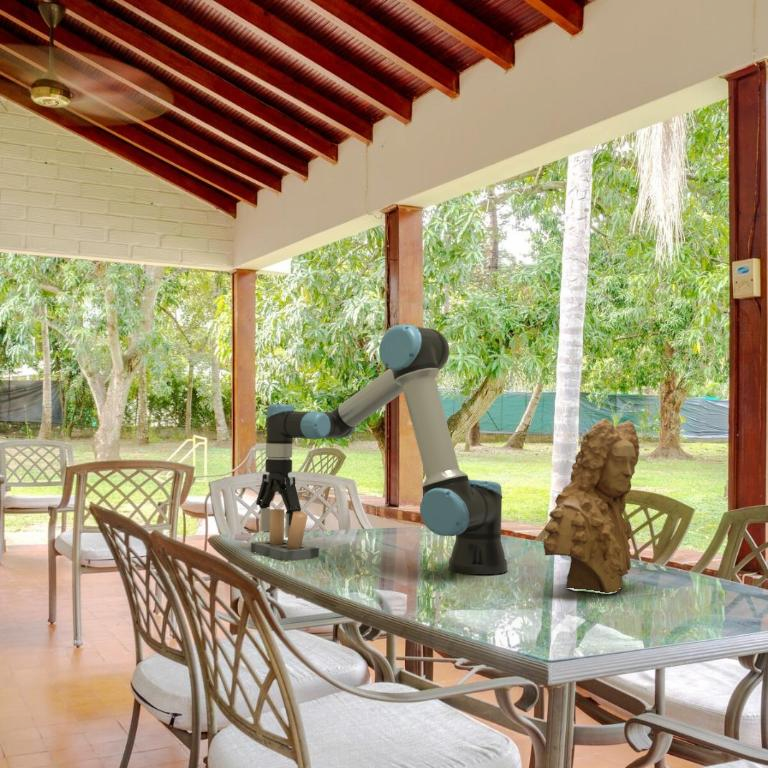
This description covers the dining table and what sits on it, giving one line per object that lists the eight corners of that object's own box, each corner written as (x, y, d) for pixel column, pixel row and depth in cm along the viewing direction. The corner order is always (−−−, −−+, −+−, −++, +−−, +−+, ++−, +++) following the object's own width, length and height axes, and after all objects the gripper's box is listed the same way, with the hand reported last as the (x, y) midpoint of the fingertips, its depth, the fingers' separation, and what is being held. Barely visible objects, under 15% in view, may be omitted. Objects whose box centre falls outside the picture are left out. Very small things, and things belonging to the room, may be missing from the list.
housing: (318, 557, 237) (318, 548, 237) (284, 561, 230) (284, 551, 230) (284, 548, 251) (284, 539, 251) (250, 551, 244) (251, 542, 244)
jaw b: (286, 552, 243) (287, 510, 244) (273, 554, 241) (274, 511, 241) (278, 550, 247) (279, 508, 247) (266, 552, 244) (267, 509, 244)
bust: (610, 607, 183) (613, 418, 184) (532, 596, 192) (535, 416, 193) (652, 581, 212) (653, 418, 213) (582, 573, 221) (584, 417, 223)
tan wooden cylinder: (301, 557, 237) (310, 516, 234) (289, 558, 235) (297, 517, 232) (294, 550, 240) (302, 510, 237) (282, 551, 238) (290, 511, 235)
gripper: (314, 460, 237) (312, 538, 236) (268, 455, 257) (266, 527, 256) (291, 461, 232) (289, 540, 232) (245, 456, 252) (243, 529, 251)
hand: (277, 534), depth 244 cm, fingers open, 13 cm apart
